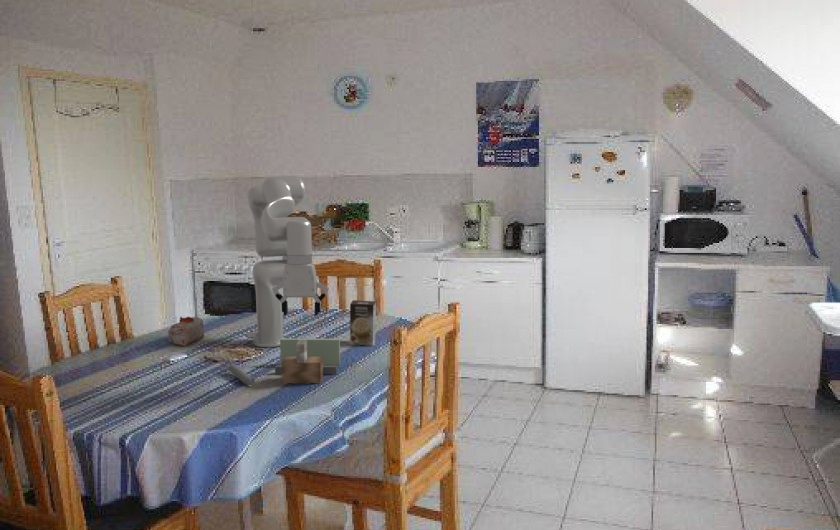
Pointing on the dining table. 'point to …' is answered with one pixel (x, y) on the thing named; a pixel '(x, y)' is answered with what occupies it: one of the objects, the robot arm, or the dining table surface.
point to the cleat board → (313, 352)
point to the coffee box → (362, 323)
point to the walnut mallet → (302, 367)
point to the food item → (186, 331)
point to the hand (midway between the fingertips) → (301, 314)
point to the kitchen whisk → (236, 370)
